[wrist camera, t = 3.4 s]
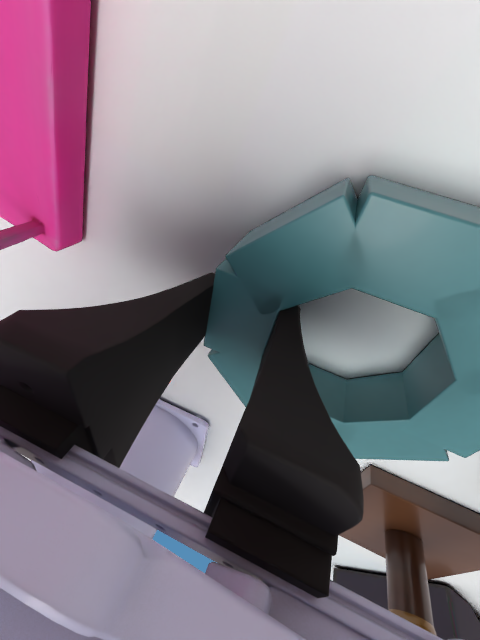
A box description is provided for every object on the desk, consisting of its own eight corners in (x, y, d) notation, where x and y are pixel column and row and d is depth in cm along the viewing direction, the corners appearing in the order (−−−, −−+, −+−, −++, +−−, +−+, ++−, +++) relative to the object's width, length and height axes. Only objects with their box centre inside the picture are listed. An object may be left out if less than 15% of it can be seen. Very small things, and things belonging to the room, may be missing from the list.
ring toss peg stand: (316, 506, 23) (301, 620, 18) (370, 464, 17) (373, 615, 12) (425, 560, 21) (444, 699, 16) (525, 534, 16) (603, 739, 10)
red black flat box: (412, 677, 30) (328, 624, 26) (407, 621, 33) (331, 566, 29) (551, 729, 23) (464, 667, 19) (526, 652, 26) (448, 585, 22)
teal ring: (216, 358, 16) (195, 391, 14) (263, 142, 9) (234, 149, 7) (403, 440, 15) (409, 490, 13) (643, 255, 7) (742, 305, 5)
